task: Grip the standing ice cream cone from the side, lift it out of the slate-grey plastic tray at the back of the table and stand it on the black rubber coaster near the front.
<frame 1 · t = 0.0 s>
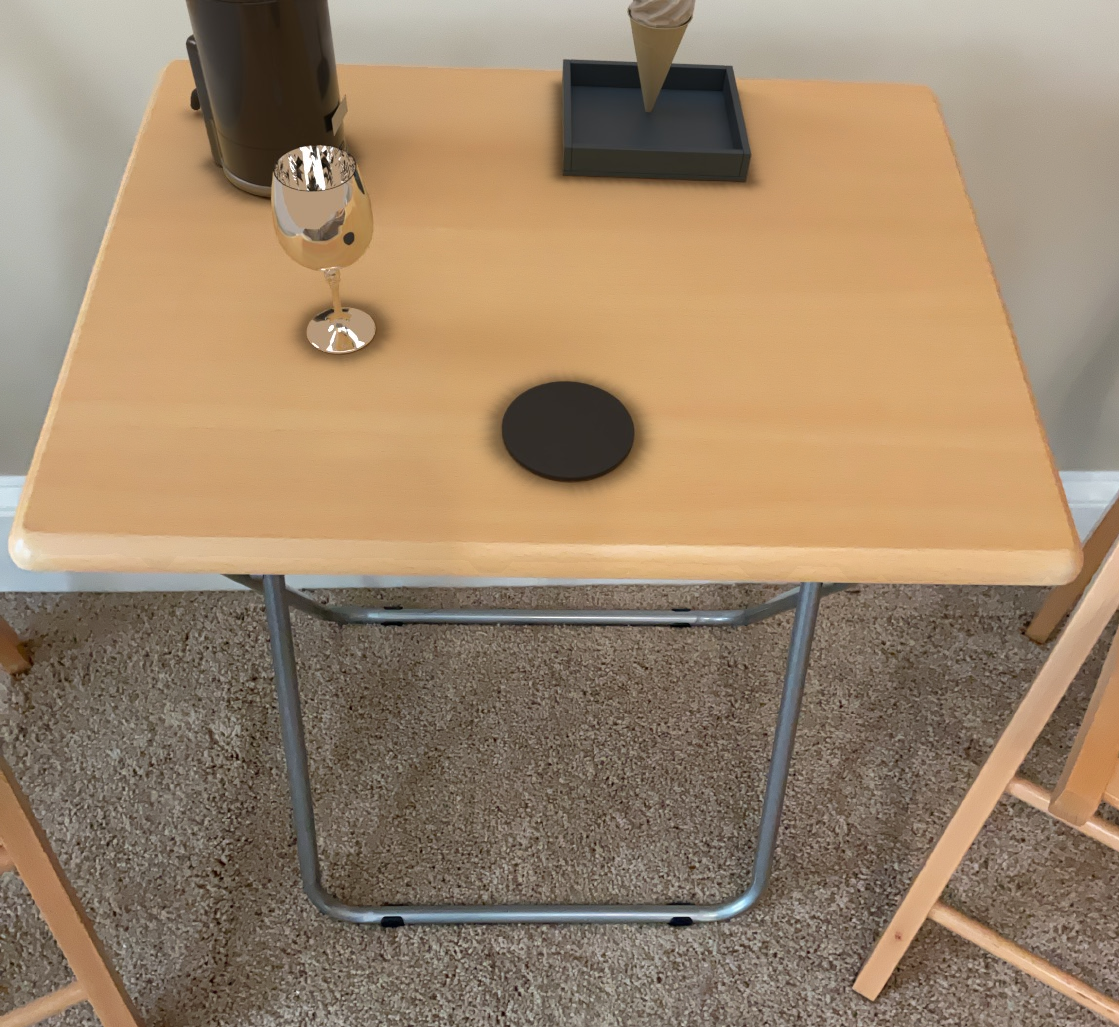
coaster: (567, 431, 63), on the table
ice cream cone: (648, 113, 85), resting on tray
wineglass: (341, 333, 68), on the table
tray: (649, 131, 84), on the table
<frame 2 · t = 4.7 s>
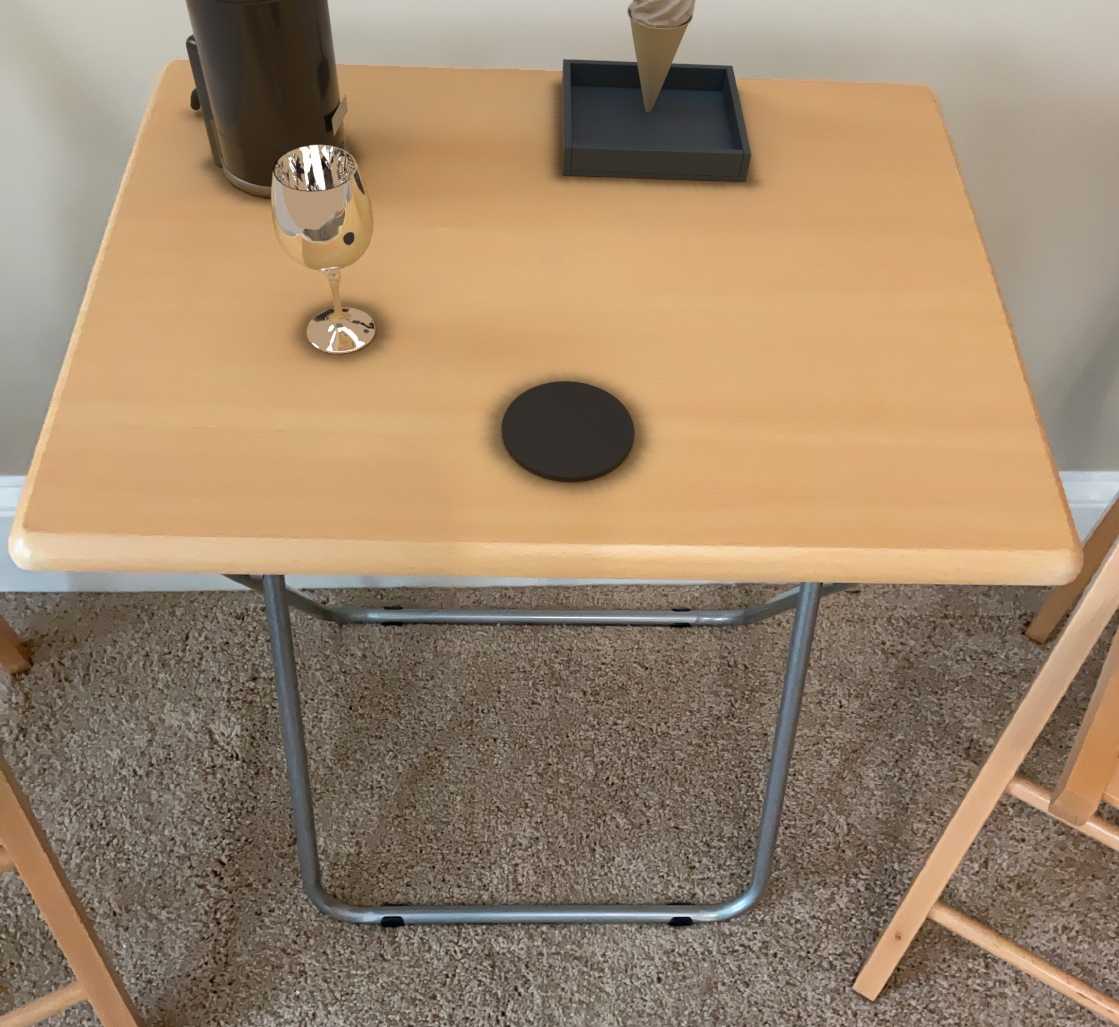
nothing on the table moved.
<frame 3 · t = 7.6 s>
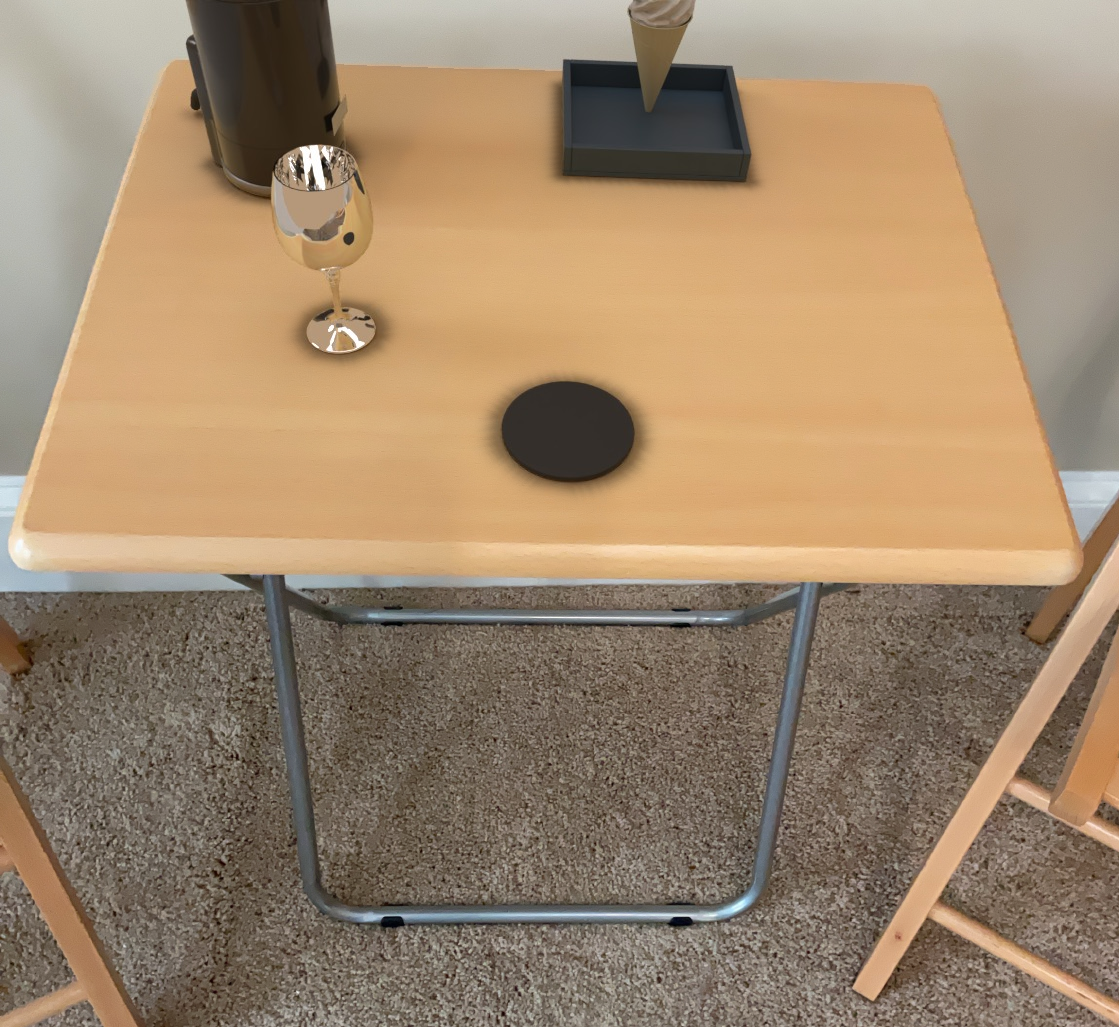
nothing on the table moved.
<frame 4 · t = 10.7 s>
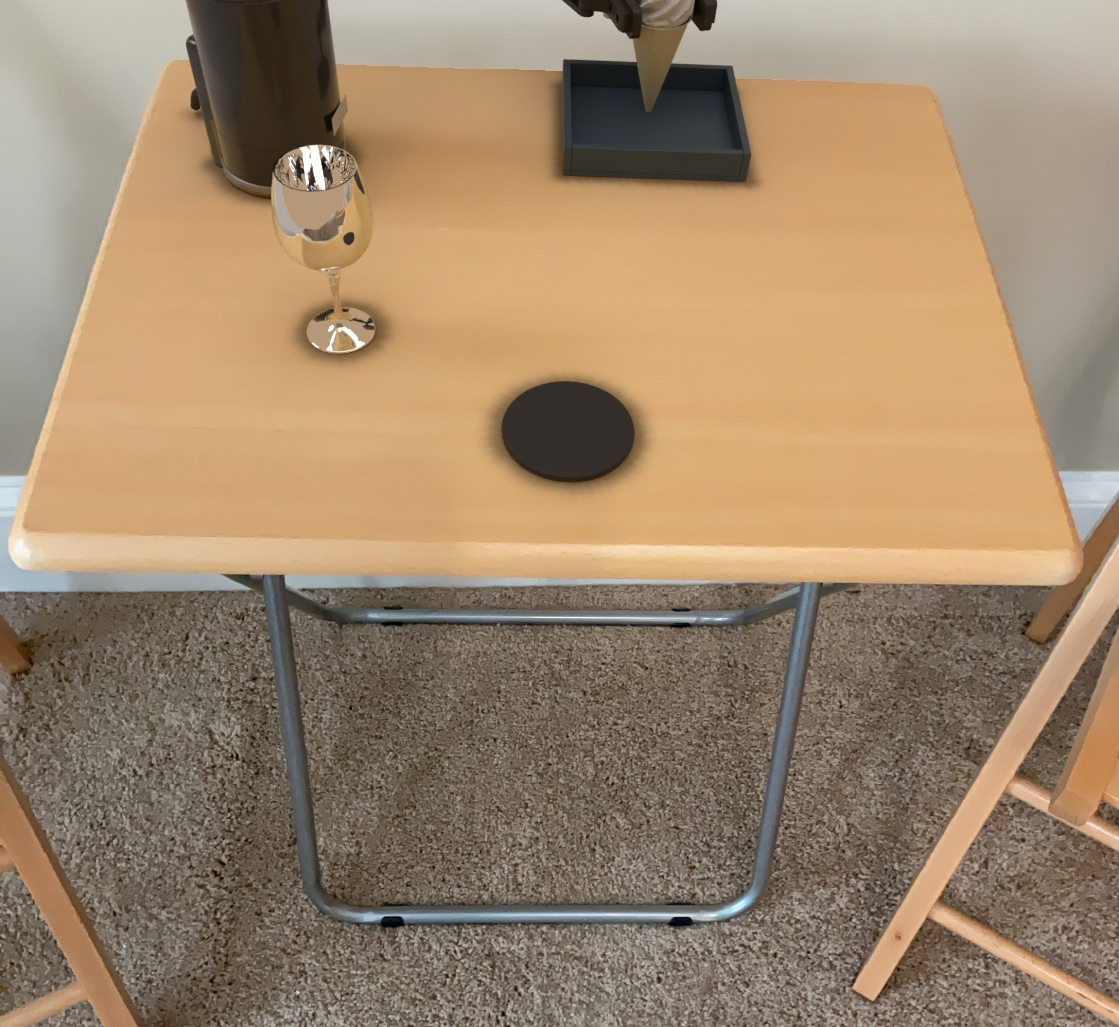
hand: (673, 22, 77), 9 cm above the table, tool horizontal, fingers closed on ice cream cone, 5 cm apart
ice cream cone: (648, 113, 85), resting on tray, touching gripper
everything else where it was.
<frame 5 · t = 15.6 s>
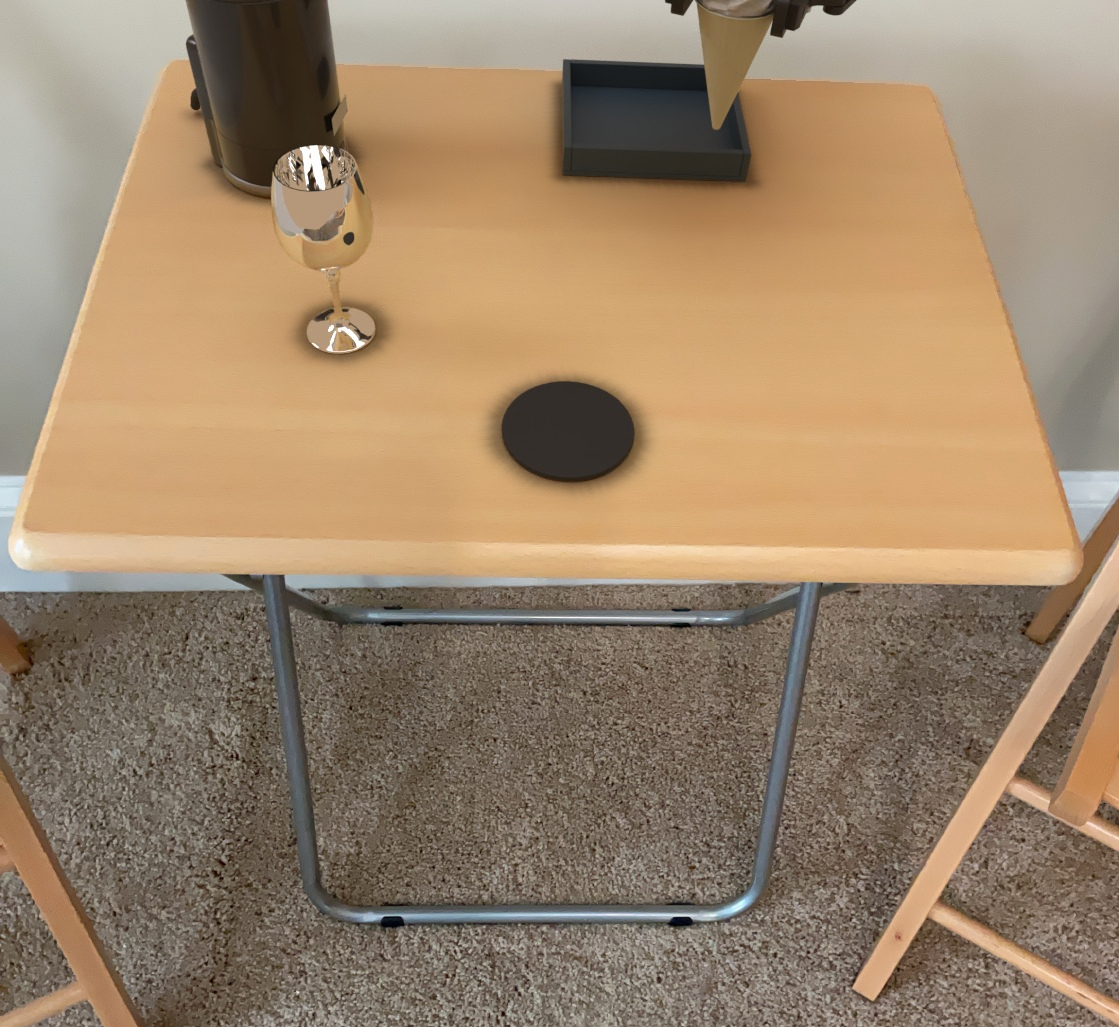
hand: (729, 8, 57), 19 cm above the table, tool horizontal, fingers closed on ice cream cone, 5 cm apart
ice cream cone: (715, 130, 65), point 11 cm above the table, touching gripper
everything else where it was.
when the fingers open (9 cm above the table, at t = 20.7 s): ice cream cone stays where it is, resting on coaster.
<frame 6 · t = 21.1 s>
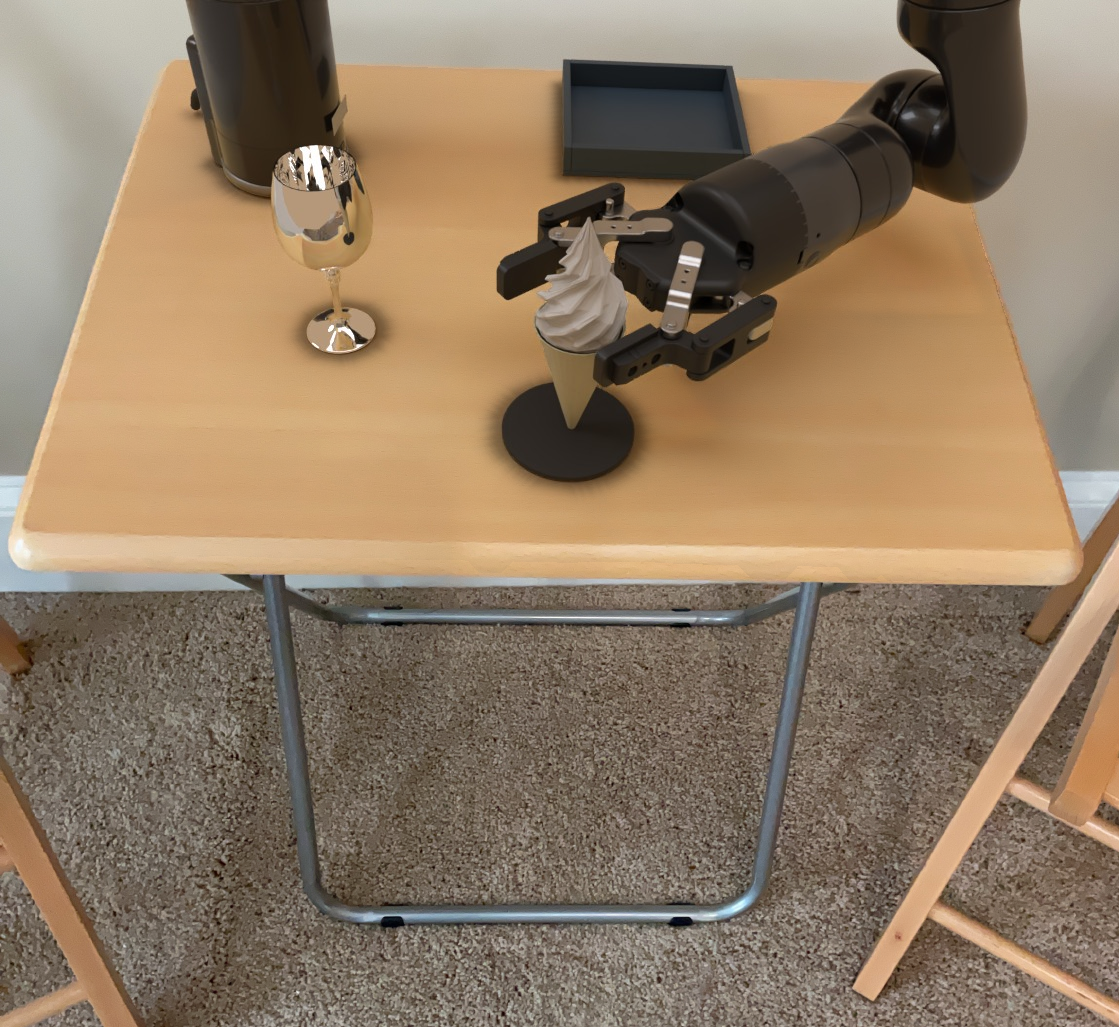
hand: (547, 326, 55), 9 cm above the table, tool horizontal, fingers open, 8 cm apart
ice cream cone: (571, 428, 63), resting on coaster
everything else where it was.
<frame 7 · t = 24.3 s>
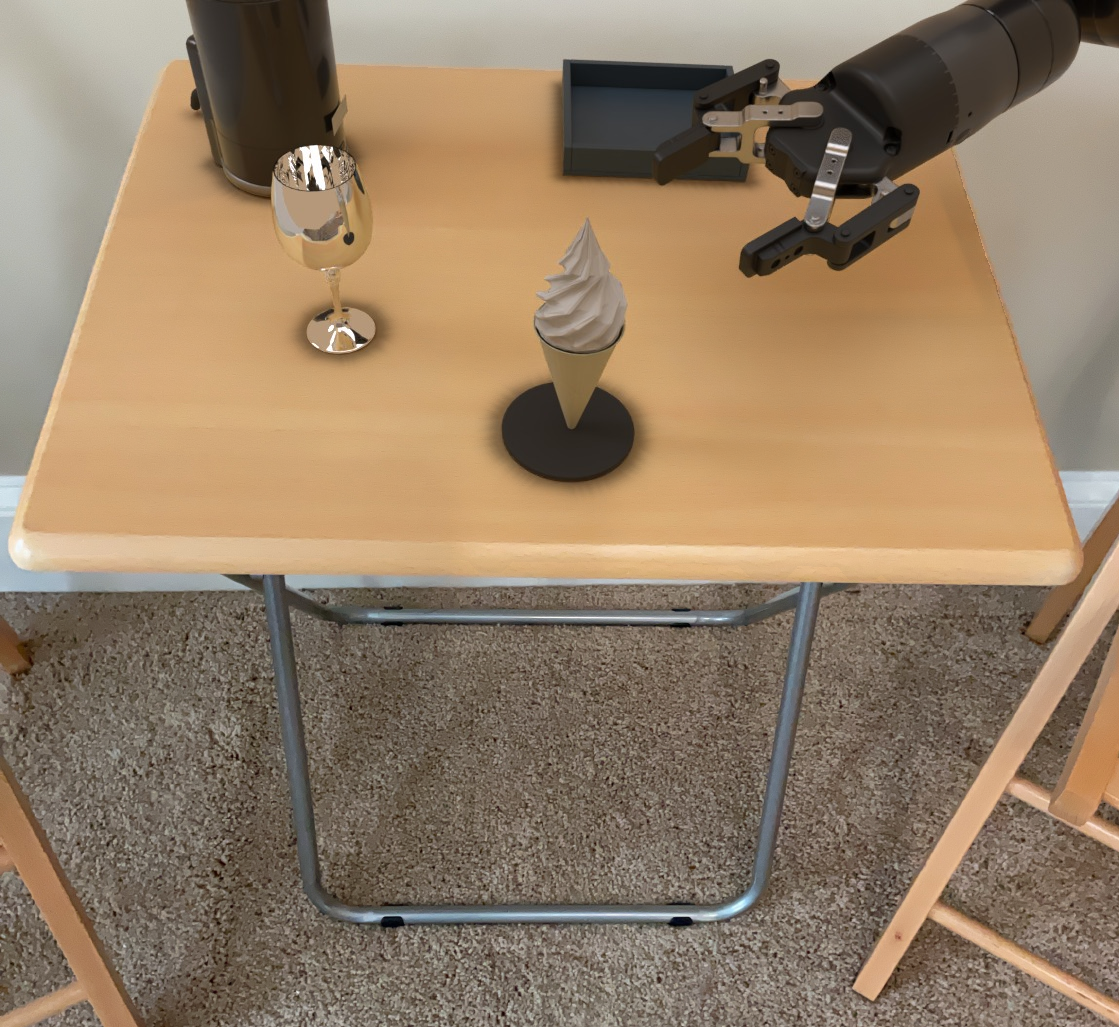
hand: (698, 216, 59), 11 cm above the table, tool horizontal, fingers open, 8 cm apart
nothing on the table moved.
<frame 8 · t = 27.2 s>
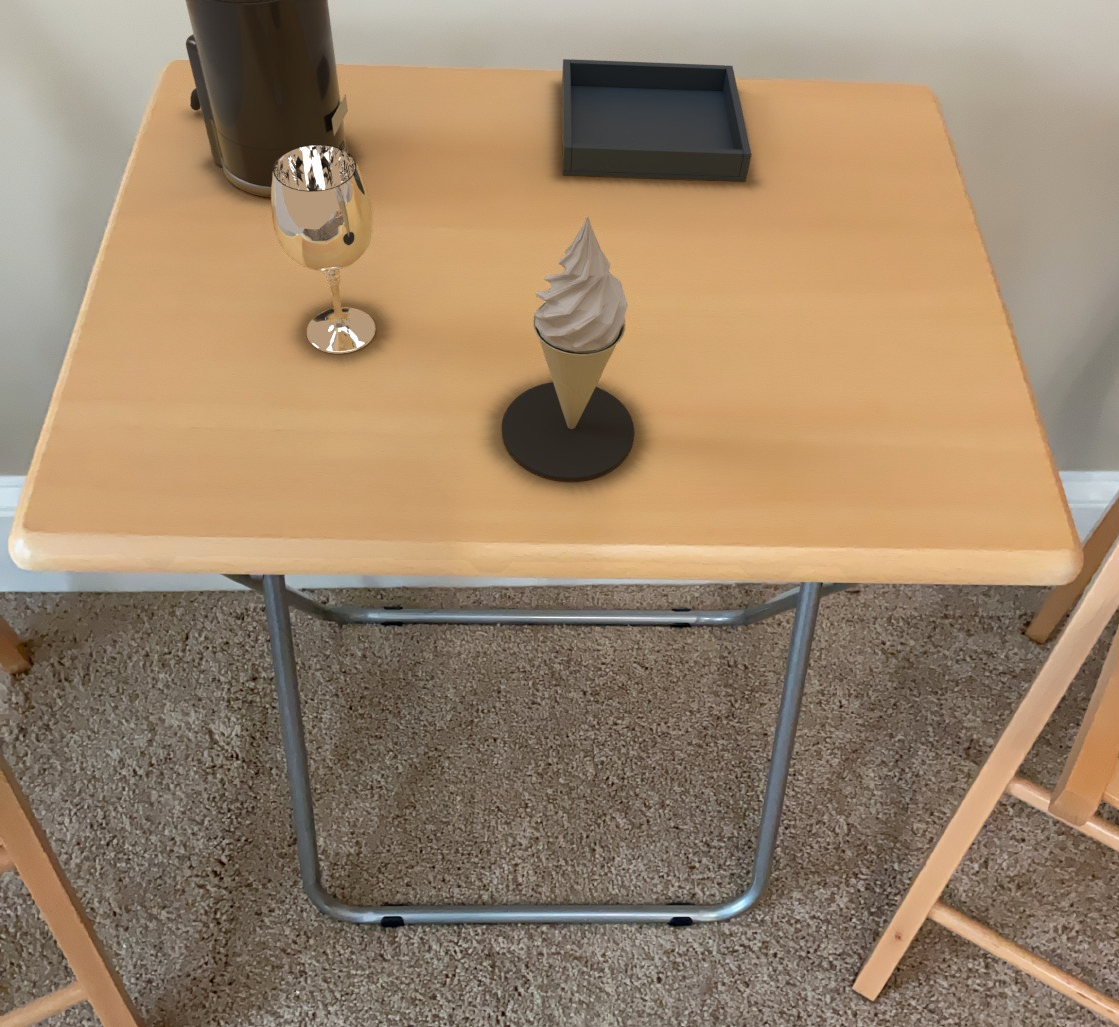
nothing on the table moved.
at the end: ice cream cone 0.2 cm off-centre on the coaster, point 0.2 cm above the coaster's base; ice cream cone tilted 0°; ice cream cone touching coaster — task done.
